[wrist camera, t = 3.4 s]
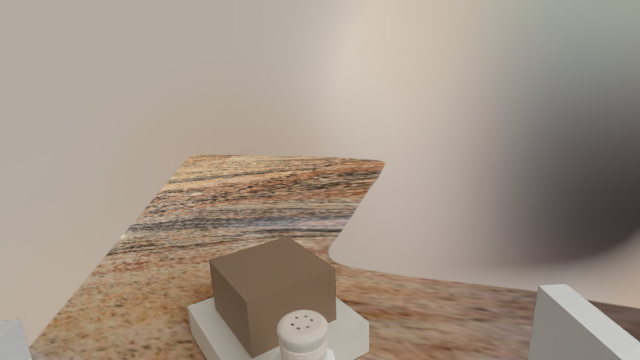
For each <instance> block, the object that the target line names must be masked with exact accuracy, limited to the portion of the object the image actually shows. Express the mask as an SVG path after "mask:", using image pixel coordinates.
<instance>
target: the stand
mask: <svg viewBox="0 0 640 360" xmlns="http://www.w3.org/2000/svg"><path fill="white" fill-rule="evenodd" d="M209 263H210V271H211V279H212V286H213V294H214V297H212V298H209V299H207V300H204V301H201V302H198V303H195V304H193V305H190V306H187V308H188V314H189V321H190V327H191V334H192V335H193V337H194V339H195V341H196V342H197V344H198V346H199V347H200V349H201V351H202V353H203V354H204V356H205V358H206V360H274V358H275V355H276V354H277V353H279V352H280V347H279V337H278V334H277V325H278V323H279V321H280V320H281V319H282V318H283V317H284V316H285V315H287V314H288V313H291V312H293V311H297V310H312V311H315V312H318V313H320V314H321V315H322V316H323V317H324V318H325V319H326V320H327V322H328V331H327V345H328V346H327V348H329V349H331V350H333V353H334V358H335V360H354V359H356V358H358V357H360V356H362V355H363V354H365V353H367V352H369V322H368V321H367V320H365V319H364V318H363V317H362V316H360V315H359V314H358V313H356V312H355V311H354V310H352V309H351V308H350V307H348V306H347V305H346V304H345V303H343V302H342V301H341V300H339V299H338V298H337V297H336V286H335V268H334V267H333V266H331V265H330V264H328V263H327V262H325V261H324V260H322V259H321V258H319V257H318V256H316V255H315V254H313V253H312V252H310V251H309V250H307V249H306V248H304V247H303V246H301V245H300V244H298V243H297V242H295V241H294V240H292V239H291V238H289V237H288V236H287V237H284V238H280V239H277V240H274V241H271V242H267V243H264V244H261V245H257V246H254V247H251V248H248V249H244V250H241V251H238V252H234V253H231V254H228V255H225V256H221V257H218V258H215V259H212V260H209Z"/></svg>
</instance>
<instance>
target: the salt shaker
mask: <svg viewBox="0 0 640 360" xmlns="http://www.w3.org/2000/svg"><path fill="white" fill-rule="evenodd" d="M327 331H328V322H327V320H326V319H325V318H324V317H323V316H322V315H321V314H320V313H318V312H315V311H312V310H297V311H293V312H291V313H288V314H287V315H285V316H284V317H283V318H282V319H281V320H280V321H279V323H278V325H277V334H278V337H279V347H280V352H279V353H277V354H276V355H275V358H274V360H335V358H334V353H333V350H331V349H329V348H327V346H328V345H327Z"/></svg>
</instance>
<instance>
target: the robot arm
mask: <svg viewBox="0 0 640 360" xmlns="http://www.w3.org/2000/svg"><path fill="white" fill-rule="evenodd" d="M0 360H32V358H31V355H30V351H29V347H28V344H27V340H26V336H25V333H24V329H23V326H22V322H21V320H4V321H0ZM528 360H640V342H639V341H638V340H636V339H635V338H634V337H633V336H631V335H630V334H629V333H628V332H626V331H625V330H624V329H623V328H621V327H620V326H619V325H618V324H616V323H615V322H614V321H612V320H611V319H610V318H609V317H607V316H606V315H605V314H604V313H602V312H601V311H600V310H599V309H597V308H596V307H595V306H594V305H592V304H591V303H590V302H588V301H587V300H586V299H585V298H583V297H582V296H581V295H579V294H578V293H577V292H576V291H575V290H573V289H572V288H571V287H570V286H568V285H567V284H555V285H539V286H538V291H537V298H536V305H535V312H534V319H533V326H532V333H531V340H530V347H529V354H528Z"/></svg>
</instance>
